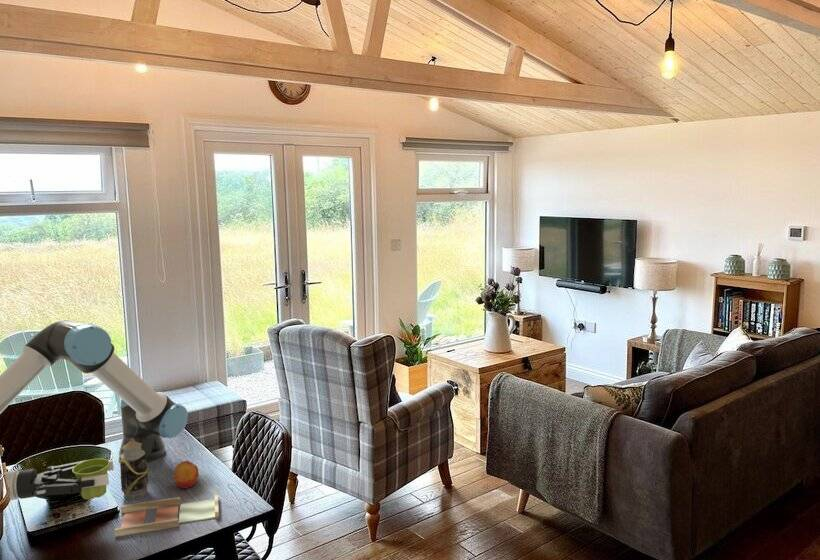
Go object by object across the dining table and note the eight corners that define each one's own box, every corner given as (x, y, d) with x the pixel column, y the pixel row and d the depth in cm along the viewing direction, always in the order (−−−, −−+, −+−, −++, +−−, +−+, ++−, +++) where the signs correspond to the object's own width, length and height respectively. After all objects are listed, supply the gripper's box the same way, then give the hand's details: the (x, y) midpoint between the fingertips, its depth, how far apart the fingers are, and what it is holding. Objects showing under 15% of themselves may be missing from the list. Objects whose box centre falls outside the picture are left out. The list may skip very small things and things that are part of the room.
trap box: (121, 511, 185) (121, 505, 185) (218, 497, 193) (217, 491, 193) (115, 536, 172) (114, 530, 171) (218, 520, 180) (218, 513, 180)
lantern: (133, 486, 200) (127, 412, 196) (155, 488, 199) (150, 414, 195) (115, 500, 192) (109, 423, 188) (139, 502, 190) (133, 424, 186)
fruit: (205, 482, 203) (203, 459, 201) (186, 494, 195) (185, 470, 194) (186, 478, 206) (185, 455, 205) (168, 489, 199) (166, 465, 197)
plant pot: (97, 504, 170) (94, 474, 168) (67, 501, 171) (64, 472, 170) (119, 488, 179) (117, 459, 177) (91, 485, 181) (88, 457, 179)
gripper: (31, 480, 179) (116, 468, 186) (8, 517, 159) (106, 502, 166) (28, 455, 178) (114, 444, 185) (5, 490, 158) (103, 476, 165)
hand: (110, 472), depth 176 cm, fingers closed on plant pot, 8 cm apart
